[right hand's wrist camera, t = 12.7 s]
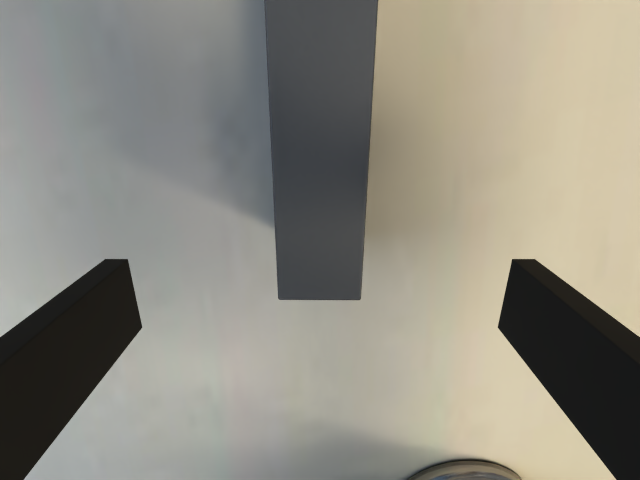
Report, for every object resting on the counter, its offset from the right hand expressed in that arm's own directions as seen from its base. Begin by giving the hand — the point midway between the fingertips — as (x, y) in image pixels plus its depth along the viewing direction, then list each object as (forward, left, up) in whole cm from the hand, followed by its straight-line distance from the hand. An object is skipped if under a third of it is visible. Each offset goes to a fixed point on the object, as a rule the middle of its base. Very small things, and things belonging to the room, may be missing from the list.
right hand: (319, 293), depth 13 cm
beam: (+15, -17, -14) cm, 27 cm away
